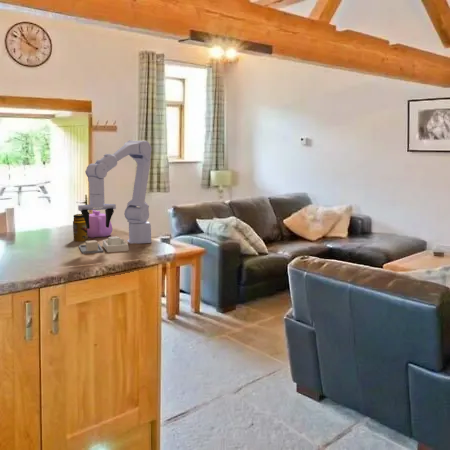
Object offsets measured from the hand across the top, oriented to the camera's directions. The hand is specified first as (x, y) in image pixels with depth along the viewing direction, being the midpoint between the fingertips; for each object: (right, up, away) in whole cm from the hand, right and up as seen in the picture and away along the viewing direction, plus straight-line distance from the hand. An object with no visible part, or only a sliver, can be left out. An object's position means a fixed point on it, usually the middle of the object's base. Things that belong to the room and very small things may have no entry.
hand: (97, 227), depth 207 cm
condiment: (-13, -7, +20) cm, 25 cm away
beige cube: (-2, -9, -1) cm, 10 cm away
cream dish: (+6, -9, +5) cm, 12 cm away
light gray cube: (+5, -8, +7) cm, 12 cm away
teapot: (-9, -4, +35) cm, 36 cm away
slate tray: (-3, -9, +3) cm, 10 cm away
